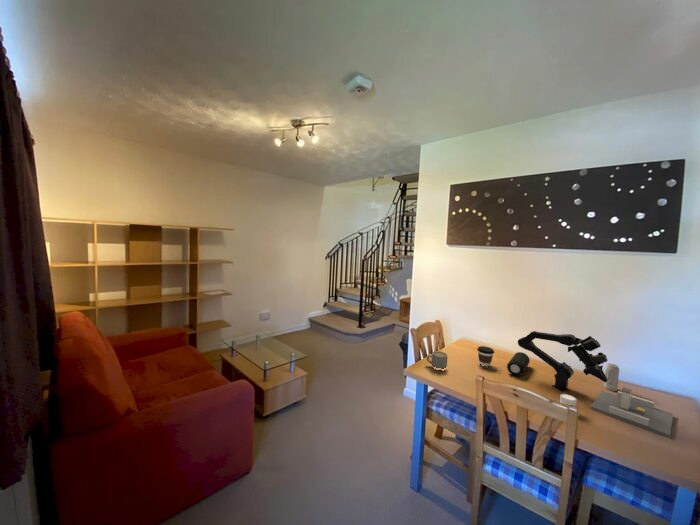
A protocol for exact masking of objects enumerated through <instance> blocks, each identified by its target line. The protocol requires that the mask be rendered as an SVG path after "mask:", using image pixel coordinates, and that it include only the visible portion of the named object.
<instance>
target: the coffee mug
mask: <svg viewBox="0 0 700 525" xmlns="http://www.w3.org/2000/svg"><path fill="white" fill-rule="evenodd" d="M430 359H431V360H430ZM426 360H427V363H429V364H430V365H431V364H432V365H431V367H432V366H433V367H436V368H441V369H444V368H446V367H447V368H448V354H447V353H446V352H444V351H440V350H439V351H438V350H434V351H432V352H431V353H429V354H428V355H427V356H426Z"/></svg>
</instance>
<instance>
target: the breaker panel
mask: <svg viewBox="0 0 700 525" xmlns="http://www.w3.org/2000/svg"><path fill="white" fill-rule="evenodd" d="M621 396H622V391H617V394H615V393H614V394H613V393H612V392H611V393H610V392H608V391H604V390H601V391H600V392H599V394H598V396H597V397H596V398H595V399H594V400H593V402H592V404H591V405H590V409H591V411H592V410H593V411H596V412H599V413H601V414H603V415H606V416H609V417H611V418H614V419H617V420H620V421H623V422H626V423H628V424H631V425H633V426H636V427H639V428H642V429H644V430H647V431H649V432H652V433H654V434H657V435H661V436H663V437H666V438H669V439H670V438H671V432H672V425H673V420H674V413H672V412H669V411H667V410H664V409H660V408H657V407H655V402H654V401H652V400H649V399H645V398H642V397H638V396H635V395H633V394H631V399H630V407H629V409H628V410H627V409H624V408H621V407H620V405H621Z"/></svg>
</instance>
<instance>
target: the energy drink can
mask: <svg viewBox="0 0 700 525" xmlns="http://www.w3.org/2000/svg"><path fill="white" fill-rule="evenodd" d="M604 374H605V376H606V377H607V379H608V381H607V382H604V381H603V387H604V388H605V389H606V390H608V391H612V392H616V391H617V390H618V385H619V375H620V368H619V365H618V364H615V363H611V362H610V363H607V365H605V371H604Z"/></svg>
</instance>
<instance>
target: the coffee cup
mask: <svg viewBox="0 0 700 525" xmlns="http://www.w3.org/2000/svg"><path fill="white" fill-rule="evenodd" d="M477 351H478V352H477V356H478V361H479V365H480V364H481V365H484V366H489V367H490V366H491V364H492V360H493V357H494V354H495V351H494V349H493V348H491V347H489V346H483V345H482V346H478V347H477ZM481 365H480V366H481Z"/></svg>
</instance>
